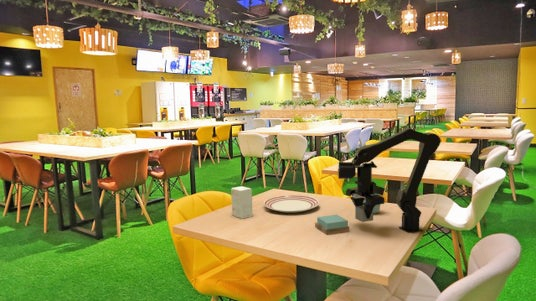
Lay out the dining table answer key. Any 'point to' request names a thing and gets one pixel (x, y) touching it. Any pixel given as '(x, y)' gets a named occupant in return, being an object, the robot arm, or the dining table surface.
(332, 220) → the tower top
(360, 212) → the grey cube
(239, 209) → the small box
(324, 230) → the tower bottom
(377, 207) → the cup
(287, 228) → the dining table surface
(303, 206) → the dinner plate
